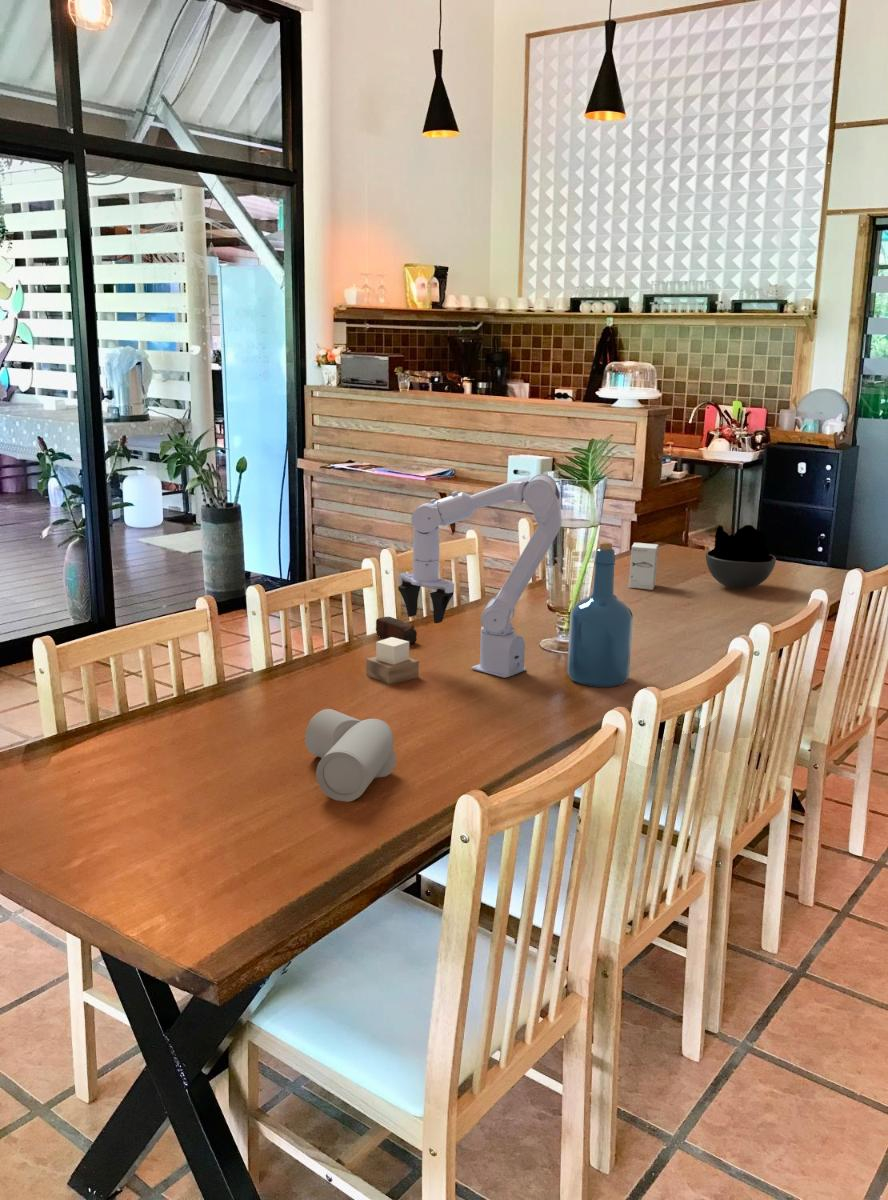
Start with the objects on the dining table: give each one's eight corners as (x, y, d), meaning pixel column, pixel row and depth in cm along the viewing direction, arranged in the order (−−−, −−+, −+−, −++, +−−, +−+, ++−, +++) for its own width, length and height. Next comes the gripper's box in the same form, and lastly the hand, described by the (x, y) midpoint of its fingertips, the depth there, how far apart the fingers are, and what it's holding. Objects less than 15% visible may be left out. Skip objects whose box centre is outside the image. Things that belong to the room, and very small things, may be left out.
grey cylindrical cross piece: (431, 771, 172) (351, 738, 185) (422, 716, 167) (341, 686, 181) (353, 825, 160) (274, 786, 174) (341, 768, 156) (261, 732, 170)
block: (409, 659, 222) (409, 641, 221) (393, 664, 218) (393, 646, 217) (391, 654, 225) (391, 637, 224) (376, 659, 221) (376, 641, 220)
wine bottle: (627, 691, 216) (637, 550, 208) (564, 686, 218) (571, 546, 211) (629, 671, 229) (638, 538, 221) (569, 666, 231) (576, 534, 224)
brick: (375, 637, 252) (375, 618, 250) (387, 634, 254) (387, 615, 253) (404, 646, 244) (405, 627, 243) (417, 643, 247) (417, 624, 246)
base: (418, 678, 222) (418, 660, 221) (388, 686, 217) (389, 667, 216) (395, 669, 228) (395, 652, 227) (366, 676, 223) (366, 658, 222)
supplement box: (627, 588, 305) (630, 546, 302) (631, 582, 312) (633, 541, 309) (653, 590, 303) (656, 548, 300) (655, 585, 310) (658, 543, 307)
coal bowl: (780, 587, 311) (786, 525, 306) (762, 600, 294) (768, 535, 290) (715, 577, 321) (720, 518, 316) (693, 590, 304) (699, 527, 300)
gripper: (389, 556, 227) (388, 616, 230) (439, 566, 218) (438, 628, 221) (410, 552, 232) (409, 610, 235) (460, 561, 223) (459, 622, 226)
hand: (425, 619), depth 229 cm, fingers open, 7 cm apart
